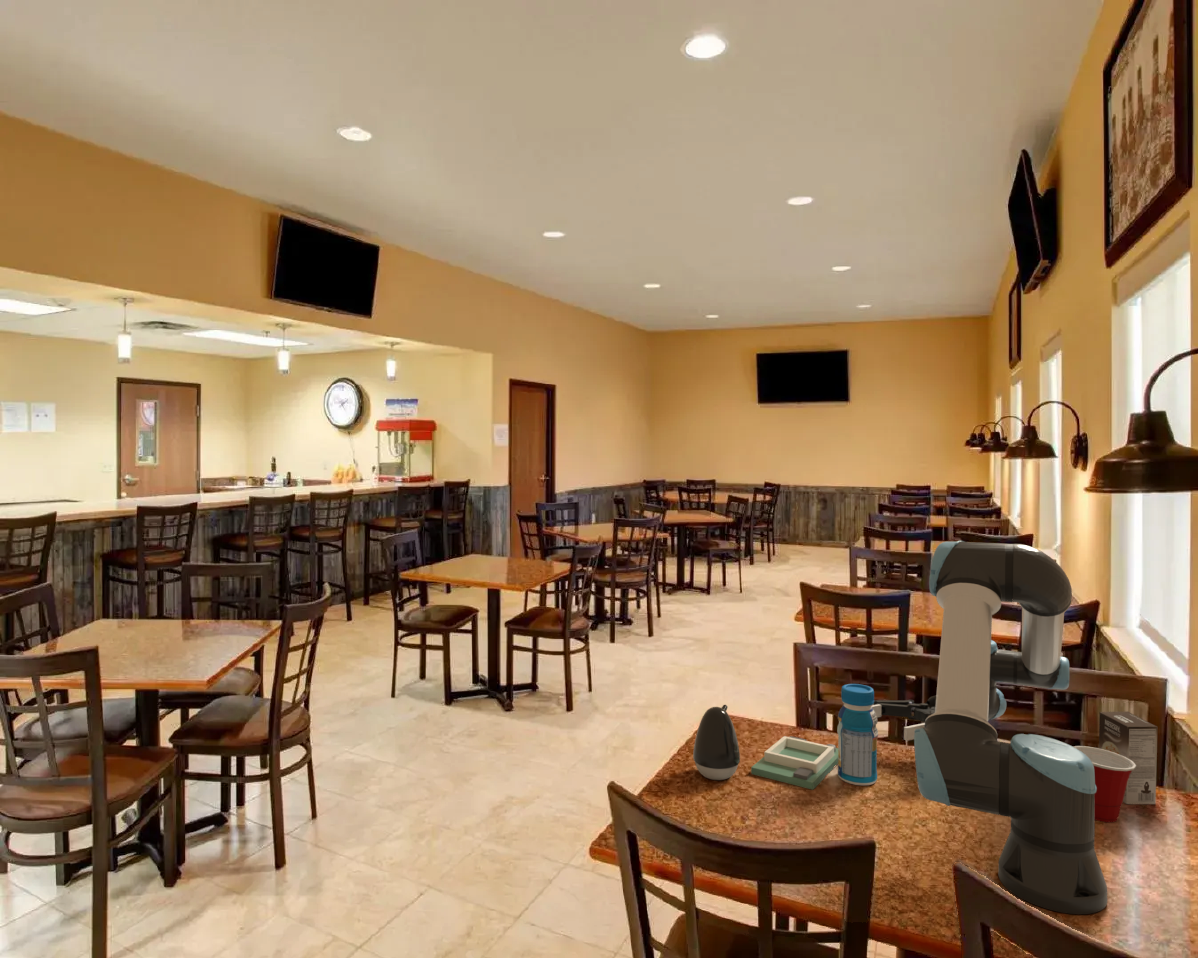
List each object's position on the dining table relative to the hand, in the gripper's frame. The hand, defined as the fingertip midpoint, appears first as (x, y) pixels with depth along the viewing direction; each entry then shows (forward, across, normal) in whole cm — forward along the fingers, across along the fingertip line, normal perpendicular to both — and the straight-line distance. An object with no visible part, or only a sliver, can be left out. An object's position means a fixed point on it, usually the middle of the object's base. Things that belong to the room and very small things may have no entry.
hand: (881, 723), depth 165 cm
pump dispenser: (+34, +14, -11) cm, 38 cm away
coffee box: (-38, -30, -11) cm, 49 cm away
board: (+14, +11, -11) cm, 21 cm away
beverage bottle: (+7, 0, -11) cm, 13 cm away
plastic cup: (-24, -33, -11) cm, 42 cm away
